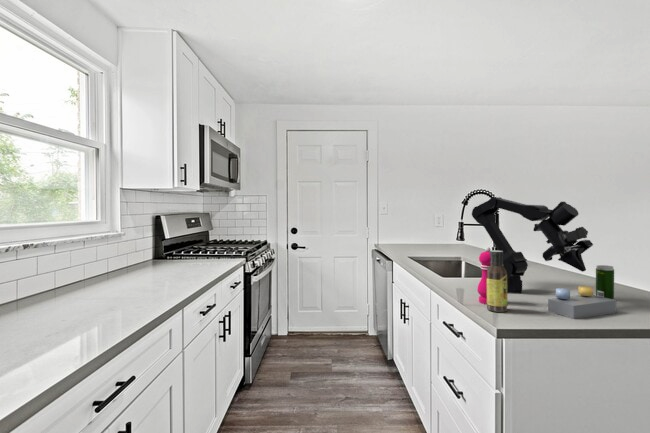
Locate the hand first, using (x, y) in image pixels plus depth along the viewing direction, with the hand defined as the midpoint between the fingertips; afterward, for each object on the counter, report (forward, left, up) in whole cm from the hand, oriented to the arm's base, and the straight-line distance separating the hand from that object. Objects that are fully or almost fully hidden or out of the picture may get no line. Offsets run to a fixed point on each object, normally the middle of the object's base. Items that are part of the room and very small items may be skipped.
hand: (584, 270), depth 127 cm
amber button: (0, -1, -11) cm, 11 cm away
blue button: (-8, -7, -11) cm, 15 cm away
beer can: (+10, +14, -13) cm, 22 cm away
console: (-2, -6, -12) cm, 14 cm away
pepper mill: (-30, -1, -13) cm, 32 cm away
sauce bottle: (-28, -11, -13) cm, 32 cm away
